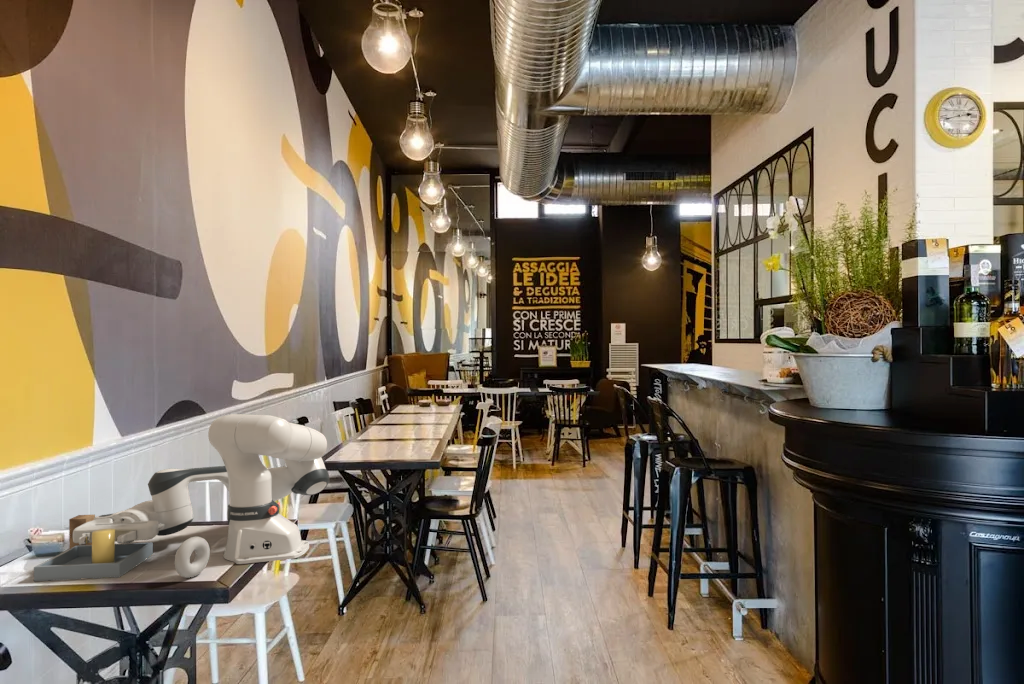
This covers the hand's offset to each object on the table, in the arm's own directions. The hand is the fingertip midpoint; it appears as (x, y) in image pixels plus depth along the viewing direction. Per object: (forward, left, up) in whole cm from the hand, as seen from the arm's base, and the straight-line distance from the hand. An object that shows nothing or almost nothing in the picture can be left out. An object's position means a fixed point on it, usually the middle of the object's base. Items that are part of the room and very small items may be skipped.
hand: (100, 540), depth 162 cm
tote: (+4, -5, -8) cm, 11 cm away
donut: (-25, +6, -9) cm, 27 cm away
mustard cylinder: (0, -1, -8) cm, 8 cm away
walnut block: (+16, -20, -8) cm, 27 cm away
